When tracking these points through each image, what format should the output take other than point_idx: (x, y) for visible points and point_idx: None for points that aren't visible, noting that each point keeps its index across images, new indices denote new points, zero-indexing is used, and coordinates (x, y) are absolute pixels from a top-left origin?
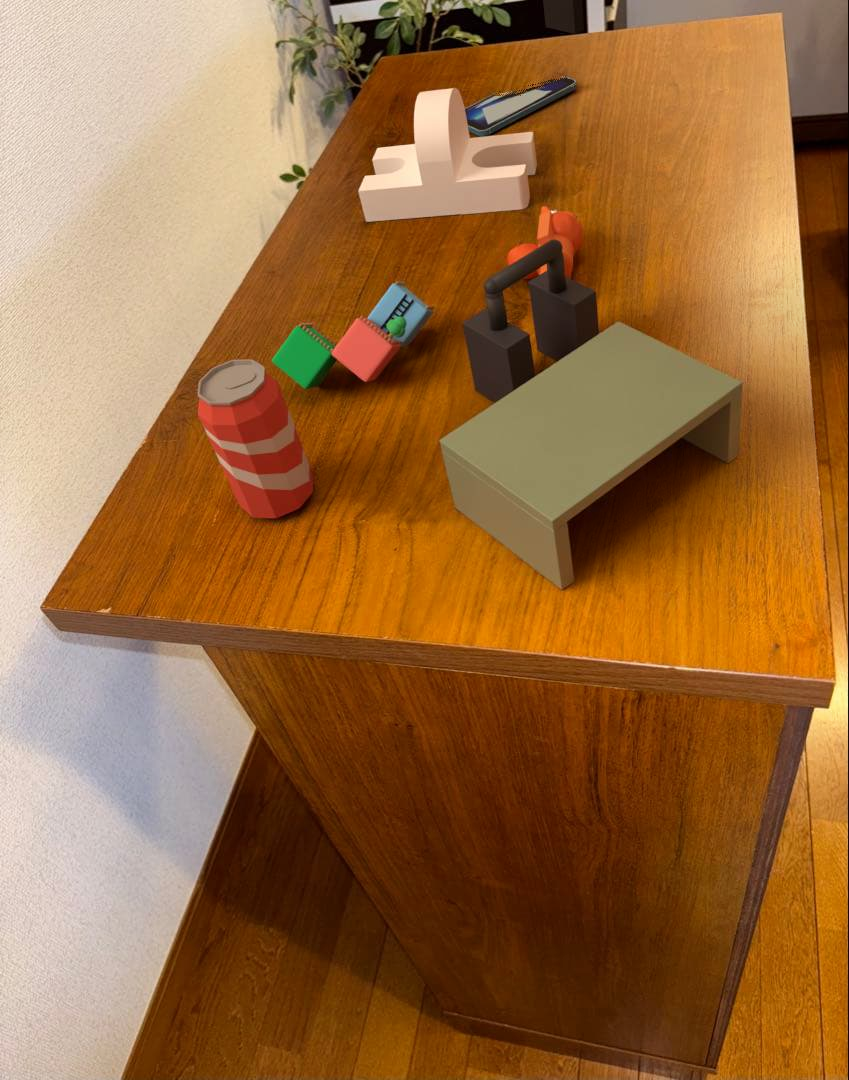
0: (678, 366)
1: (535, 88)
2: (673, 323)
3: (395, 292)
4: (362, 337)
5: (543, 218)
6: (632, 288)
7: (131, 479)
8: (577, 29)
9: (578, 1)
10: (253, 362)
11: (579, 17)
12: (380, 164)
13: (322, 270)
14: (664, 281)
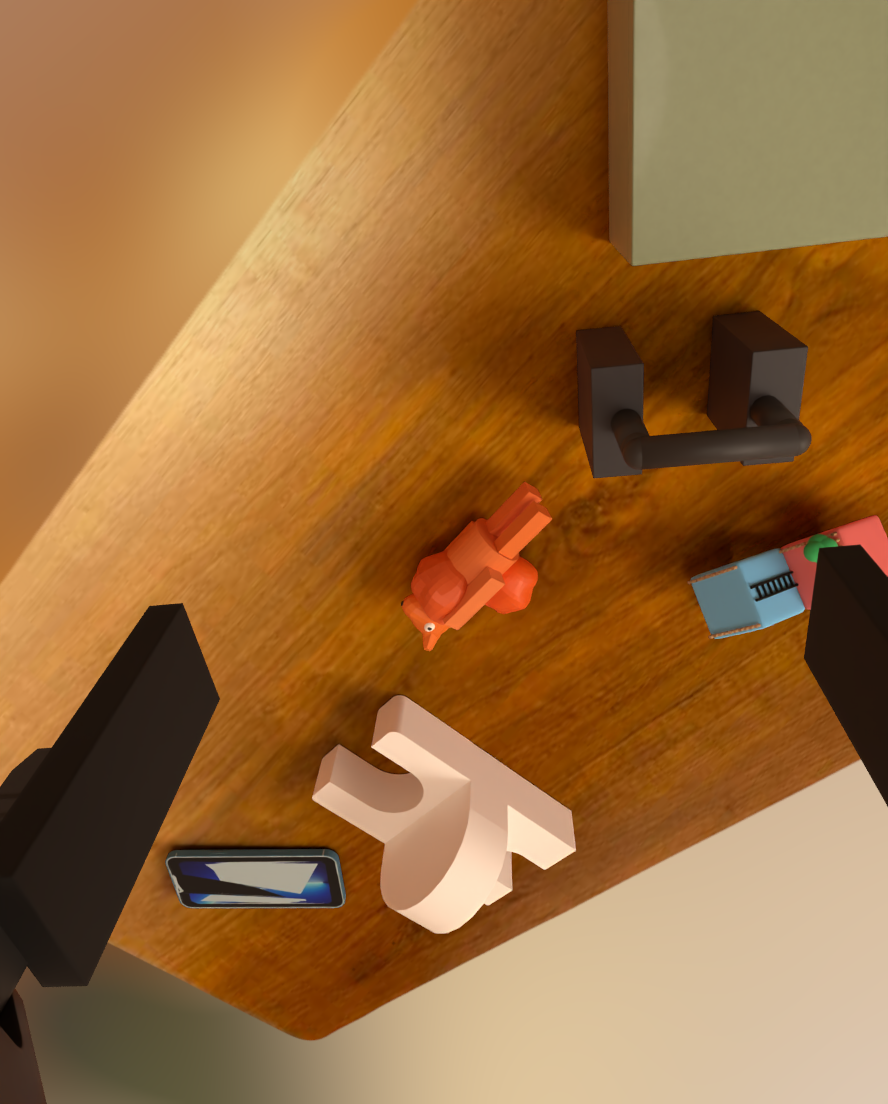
0: (671, 55)
1: (218, 881)
2: (433, 324)
3: (766, 613)
4: None
5: (463, 617)
6: (418, 441)
7: None
8: (855, 549)
9: (876, 598)
10: None
11: (852, 570)
12: (504, 878)
13: (683, 769)
14: (372, 420)
